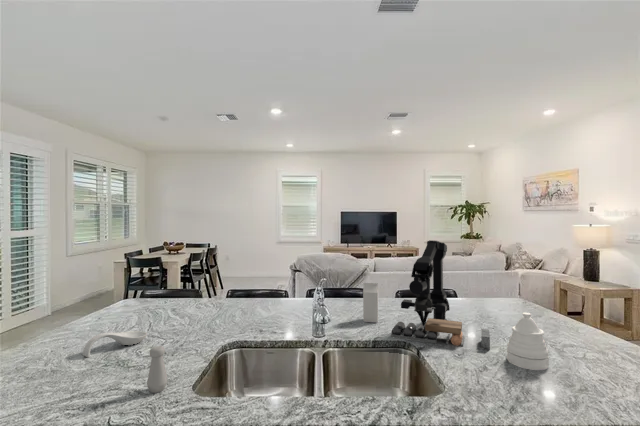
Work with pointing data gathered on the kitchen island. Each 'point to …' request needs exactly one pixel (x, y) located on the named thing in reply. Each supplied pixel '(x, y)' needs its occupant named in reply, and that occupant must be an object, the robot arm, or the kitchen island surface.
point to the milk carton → (370, 302)
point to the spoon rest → (116, 339)
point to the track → (417, 333)
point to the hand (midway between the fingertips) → (423, 325)
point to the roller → (456, 339)
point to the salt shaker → (157, 370)
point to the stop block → (485, 339)
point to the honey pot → (527, 345)
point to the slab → (443, 326)
